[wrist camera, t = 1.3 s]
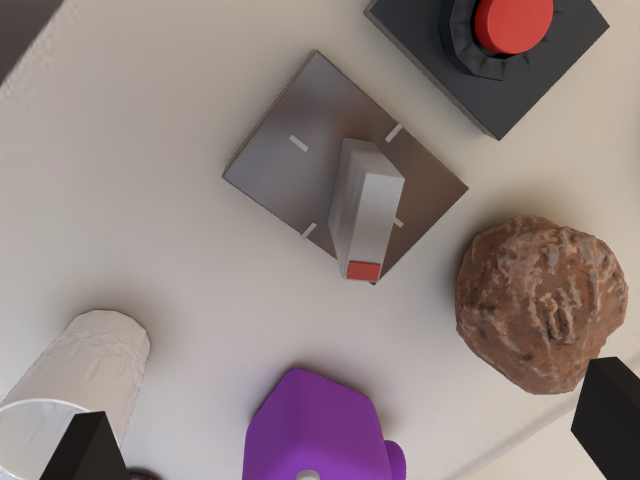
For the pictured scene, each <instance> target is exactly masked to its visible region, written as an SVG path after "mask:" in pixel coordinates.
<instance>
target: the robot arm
mask: <svg viewBox="0 0 640 480" xmlns="http://www.w3.org/2000/svg"><path fill="white" fill-rule="evenodd" d="M571 432H572V433H573V434H574V436H575V437H576V438H577V440H578V441H579V442H580V444H581V445H582V447H583V448H584V449H585V450H586V452H587V453H588V455H589V456H590V457H591V459H592V460H593V461H594V463H595V464H596V465H597V467H598V468H599V470H600V471H601V472H602V474H603V475H604V476H605V478H606V479H607V480H640V379H639V378H638V377H637V376H636V375H635V374H634V373H633V372H632V371H631V370H630V369H629V368H628V367H627V366H626V365H625V364H624V363H623V362H622V361H621V360H619V359H618V358H617V357H606V358H597V359H590V360H589V364H588V367H587V371H586V375H585V378H584V382H583V386H582V389H581V393H580V397H579V401H578V404H577V408H576V412H575V416H574V419H573V423H572V427H571ZM39 480H131V479H130V476H129V474H128V471H127V468H126V466H125V463H124V460H123V458H122V455H121V452H120V450H119V447H118V444H117V442H116V439H115V436H114V434H113V431H112V428H111V426H110V423H109V420H108V418H107V415H106V412H105V411H98V412H88V413H79V414H75V415H74V416H73V418H72V420H71V422H70V424H69V426H68V427H67V429H66V431H65V433H64V435H63V437H62V438H61V440H60V442H59V444H58V446H57V448H56V449H55V451H54V453H53V455H52V457H51V459H50V460H49V462H48V464H47V466H46V468H45V470H44V471H43V473H42V475H41V477H40V479H39Z"/></svg>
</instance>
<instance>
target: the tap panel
mask: <svg viewBox="0 0 640 480" xmlns="http://www.w3.org/2000/svg"><path fill="white" fill-rule="evenodd" d="M344 138H350V139H356V140H363V141H369V142H373V143H374V144H375V145H376V146H377V148H378V149H379V150H380V151H381V152H382V153H383V154H384V155H385V157H386V158H387V159H388V160H389V161H390V162H391V163H392V164H393V166H394V167H395V168H396V169H397V170H398V171H399V172H400V174H401V175H402V176H403V177H404V178H405V181H404V184H403V188H402V192H401V196H400V200H399V203H398V207H397V211H396V215H395V219H394V222H393V226H392V230H391V234H390V238H389V241H388V245H387V249H386V253H385V257H384V260H383V264H382V268H381V272H380V276H379V280H380V279H381V278H382V277H383V276H384V275H385V274H386V273H387V272H388V271H389V270H390V269H391V268H392V267H393V266H394V265H395V264H396V263H397V262H398V261H399V259H400V258H401V257H402V256H403V255H404V254H405V253H406V252H407V251H408V250H409V249H410V248H411V247H412V246H413V245H414V244H415V243H416V242H417V241H418V240H419V239H420V238H421V237H422V236H423V235H424V234H425V233H426V232H427V231H428V230H429V229H430V228H431V227H432V226H433V225H434V224H435V223H436V222H437V221H438V220H439V219H440V218H441V217H442V216H443V215H444V213H445V212H446V211H447V210H448V209H449V208H450V207H451V206H452V205H453V204H454V203H455V202H456V201H457V200H458V199H459V198H460V197H461V196H462V195H463V194H464V193H465V192H466V191H467V190H468V189H469V188H468V187H467V186H466V185H465V184H464V183H463V182H462V181H461V180H460V179H459V178H457V177H456V176H455V175H454V174H453V173H452V172H451V171H450V170H449V169H448V168H446V167H445V166H444V165H443V164H442V163H441V162H440V161H439V160H438V159H437V158H436V157H434V156H433V155H432V154H431V153H430V152H429V151H428V150H427V149H426V148H425V147H423V146H422V145H421V144H420V143H419V142H418V141H417V140H416V139H415V138H414V137H412V136H411V135H410V134H409V133H408V132H407V131H406V130H405V129H404V128H403V125H402V124H401V123H400V122H399V123H397V122H396V121H395V120H394V119H393V118H392V117H390V116H389V115H388V114H387V113H386V112H385V111H384V110H383V109H382V108H381V107H379V106H378V105H377V104H376V103H375V102H374V101H373V100H372V99H371V98H370V97H368V96H367V95H366V94H365V93H364V92H363V91H362V90H361V89H360V88H359V87H357V86H356V85H355V84H354V83H353V82H352V81H351V80H350V79H349V78H348V77H346V76H345V75H344V74H343V73H342V72H341V71H340V70H339V69H338V68H337V67H335V66H334V65H333V64H332V63H331V62H330V61H329V60H328V59H327V58H326V57H324V56H323V55H322V54H321V53H320V52H319V51H318V50H313V52H312V53H311V54H310V56H309V57H308V58H307V60H306V61H305V62H304V64H303V65H302V66H301V68H300V69H299V70H298V72H297V73H296V74H295V76H294V77H293V78H292V80H291V81H290V82H289V84H288V85H287V86H286V88H285V89H284V90H283V92H282V93H281V94H280V96H279V97H278V98H277V99H276V101H275V102H274V103H273V105H272V106H271V107H270V109H269V110H268V111H267V113H266V114H265V115H264V117H263V118H262V119H261V121H260V122H259V123H258V125H257V126H256V127H255V129H254V130H253V131H252V133H251V134H250V135H249V137H248V138H247V139H246V141H245V142H244V143H243V145H242V146H241V147H240V149H239V150H238V151H237V153H236V154H235V155H234V156H233V158H232V159H231V160H230V162H229V163H228V164H227V166H226V167H225V169H224V171H223V174H222V176H221V177H222V178H223V179H225V180H226V181H228V182H229V183H230V184H232V185H233V186H235V187H236V188H237V189H239V190H240V191H242V192H243V193H244V194H246V195H247V196H249V197H250V198H251V199H253V200H254V201H256V202H257V203H258V204H260V205H261V206H263V207H264V208H266V209H267V210H268V211H270V212H271V213H273V214H274V215H275V216H277V217H278V218H280V219H281V220H282V221H284V222H285V223H287V224H288V225H289V226H291V227H292V228H294V229H295V230H296V231H298V232H299V233H301V237H302V238H304V239H305V238H308V239H309V240H310V241H312V242H313V243H315V244H316V245H318V246H319V247H320V248H322V249H323V250H325V251H326V252H327V253H329V254H330V255H332V256H333V257H334V258H336V259H337V255H336V251H335V247H334V244H333V240H332V236H331V232H330V229H329V225H328V216H329V211H330V206H331V201H332V195H333V190H334V185H335V180H336V175H337V170H338V164H339V159H340V154H341V149H342V144H343V139H344ZM337 260H338V259H337ZM379 280H378V281H379ZM370 283H371V284H372V285H375V284H376V283H377V282H370Z"/></svg>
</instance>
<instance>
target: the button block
mask: <svg viewBox="0 0 640 480" xmlns="http://www.w3.org/2000/svg"><path fill="white" fill-rule="evenodd" d="M480 1H481V0H372V1H371V3H370V4H369V5H368V7H367V8H366V9H365V11H364V12H363V13H364V14H365V15H366V16H367V17H368V18H369V19H370V20H371V21H372V22H373V23H374V24H375V25H376V26H377V27H378V28H379V29H380V30H381V31H382V32H383V33H384V34H385V35H386V36H387V37H388V38H389V39H390V40H391V41H392V42H393V43H394V44H395V45H396V46H397V47H398V48H399V49H400V50H401V51H402V52H403V53H404V54H405V55H406V56H407V57H408V58H409V59H410V60H411V61H412V62H413V63H414V64H415V65H416V66H417V67H418V68H419V69H420V70H421V71H422V72H423V73H424V74H425V75H426V76H427V77H428V78H429V79H430V80H431V81H432V82H433V83H434V84H435V85H436V86H437V87H438V88H439V89H440V90H441V91H442V92H443V93H444V94H445V95H446V96H447V97H448V98H449V99H450V100H451V101H452V102H453V103H454V104H455V105H456V106H457V107H458V108H459V109H460V110H461V111H462V112H463V113H464V114H465V115H466V116H467V117H468V118H469V119H470V120H471V121H472V122H473V123H474V124H475V125H476V126H477V127H478V128H479V129H480V130H481V131H482V132H483V133H484V134H486V135H488V136H490V137H492V138H494V139H496V140H498V141H500V140H501V139H502V138H503V137H504V136H505V135H506V134H507V133H508V132H509V131H510V130H511V128H512V127H513V126H514V125H515V124H516V123H517V122H518V121H519V120H520V119H521V118H522V117H523V116H524V115H525V114H526V113H527V112H528V111H529V110H530V109H531V108H532V107H533V106H534V105H535V104H536V103H537V102H538V100H539V99H540V98H541V97H542V96H543V95H544V94H545V93H546V92H547V91H548V90H549V89H550V88H551V87H552V86H553V85H554V84H555V83H556V82H557V81H558V80H559V79H560V78H561V77H562V76H563V75H564V74H565V73H566V71H567V70H568V69H569V68H570V67H571V66H572V65H573V64H574V63H575V62H576V61H577V60H578V59H579V58H580V57H581V56H582V55H583V54H584V53H585V52H586V51H587V50H588V49H589V48H590V47H591V46H592V45H593V43H594V42H595V41H596V40H597V39H598V38H599V37H600V36H601V35H602V34H603V33H604V32H605V31H606V30H607V29H608V28H609V27H610V26H609V24H608V23H607V22H606V20H605V19H604V18H603V16H602V15H601V14H600V13H599V11H598V10H597V9H596V7H595V6H594V5H593V3H592V2H591V1H590V0H552V1H553V15H552V20H551V23H550V26H549V28H548V30H547V32H546V33H545V35H544V36H543V38H542V39H541V40H540V41H539V42H538V43H537V44H536V45H535V46H533V47H532V48H530V49H529V50H527V51H525V52H522V53H517V54H507V53H496V52H492V51H489V50H487V49H486V48H485V47H483V46H482V45H481V43H480V42H479V40H478V38H477V36H476V33H475V27H474V19H475V14H476V10H477V7H478V5H479V3H480Z"/></svg>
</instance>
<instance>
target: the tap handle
mask: <svg viewBox="0 0 640 480" xmlns="http://www.w3.org/2000/svg"><path fill="white" fill-rule="evenodd" d="M404 181H405V178H404V177H403V176H402V175H401V174H400V172H399V171H398V170H397V169H396V168H395V167H394V166H393V164H392V163H391V162H390V161H389V160H388V159H387V158H386V157H385V155H384V154H383V153H382V152H381V151H380V150H379V149H378V148H377V146H376V145H375V144H374V143H373V142H369V141H363V140H356V139H350V138H344V139H343V144H342V149H341V154H340V159H339V164H338V170H337V175H336V180H335V185H334V190H333V195H332V201H331V206H330V211H329V216H328V225H329V229H330V232H331V236H332V240H333V244H334V247H335V251H336V255H337V259H338V262H339V266H340V270H341V274H342V277H343V279H349V280H358V281H368V282H378V280H379V276H380V272H381V268H382V264H383V260H384V257H385V253H386V249H387V245H388V241H389V238H390V234H391V230H392V226H393V222H394V219H395V215H396V211H397V207H398V203H399V200H400V196H401V192H402V188H403V184H404Z"/></svg>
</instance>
